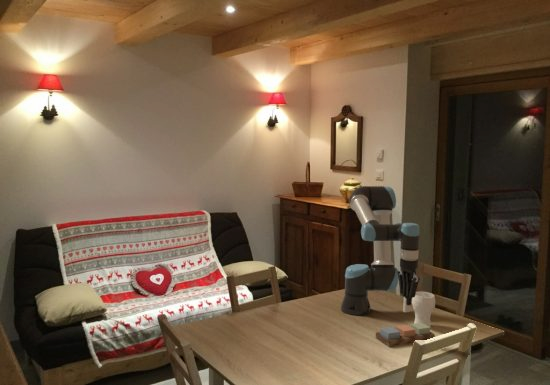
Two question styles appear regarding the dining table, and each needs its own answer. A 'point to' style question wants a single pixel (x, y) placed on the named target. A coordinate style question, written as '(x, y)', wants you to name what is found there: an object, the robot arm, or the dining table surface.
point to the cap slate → (389, 333)
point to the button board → (403, 339)
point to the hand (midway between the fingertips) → (406, 311)
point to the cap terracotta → (405, 330)
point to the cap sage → (421, 328)
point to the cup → (423, 307)
